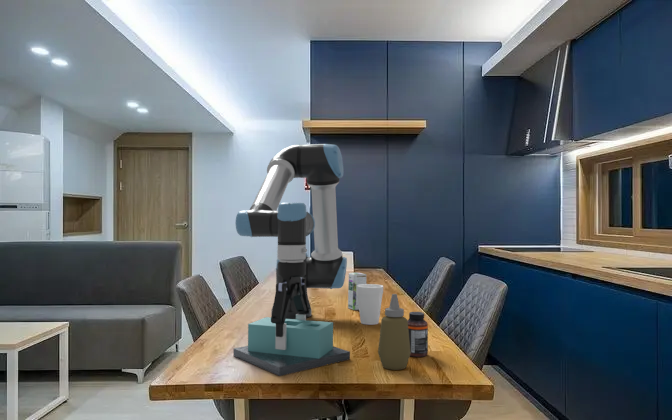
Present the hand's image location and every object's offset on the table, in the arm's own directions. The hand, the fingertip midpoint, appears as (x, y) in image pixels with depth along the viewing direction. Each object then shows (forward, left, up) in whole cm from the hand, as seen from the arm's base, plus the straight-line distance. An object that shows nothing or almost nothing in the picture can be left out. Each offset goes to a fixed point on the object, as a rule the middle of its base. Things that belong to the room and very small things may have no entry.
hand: (291, 343), depth 132 cm
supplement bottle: (+19, +28, -4) cm, 34 cm away
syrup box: (-42, +62, -4) cm, 75 cm away
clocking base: (0, 0, -4) cm, 4 cm away
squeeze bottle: (+23, +15, -4) cm, 28 cm away
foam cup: (-19, +47, -4) cm, 51 cm away
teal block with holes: (0, 0, -2) cm, 2 cm away
